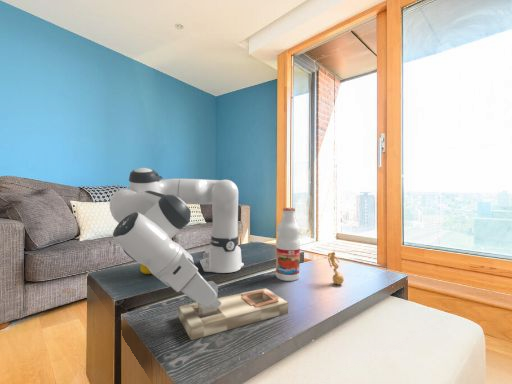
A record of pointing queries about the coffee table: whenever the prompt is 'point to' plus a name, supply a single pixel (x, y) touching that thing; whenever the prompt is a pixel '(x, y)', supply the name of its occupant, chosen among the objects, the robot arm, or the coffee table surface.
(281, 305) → the beige flat wooden block
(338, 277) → the figurine
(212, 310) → the steel peg
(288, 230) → the fruit juice
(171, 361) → the coffee table surface
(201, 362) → the coffee table surface
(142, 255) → the robot arm
